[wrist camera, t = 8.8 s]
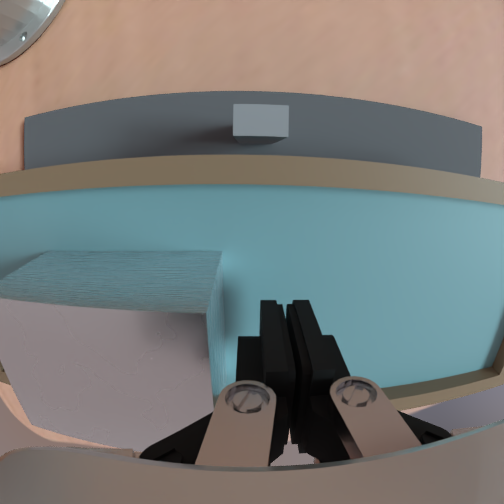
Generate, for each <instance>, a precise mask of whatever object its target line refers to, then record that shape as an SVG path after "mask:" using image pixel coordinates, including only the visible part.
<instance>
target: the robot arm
mask: <svg viewBox="0 0 504 504" xmlns="http://www.w3.org/2000/svg"><path fill="white" fill-rule="evenodd" d="M64 2H65V0H0V66H1V65H3V64H5V63H8V62H10V61H11V60H13V59H14V58H16V57H17V56H19V55H20V54H21V53H23V52H24V51H25V50H26V49H27V48H29V47H30V46H31V45H32V44H33V43H34V42H35V41H36V40H37V39H38V38H39V37H40V35H41V34H42V33H43V32H44V31H45V29H46V28H47V27H48V26H49V25H50V23H51V22H52V20H53V19H54V18H55V16H56V15H57V13H58V12H59V10H60V8H61V7H62V5H63V3H64ZM289 428H290V435H291V442H292V444H298V449H299V453H308V454H309V455H311V456H313V457H314V464H308V465H293V466H292V465H291V466H270V464H271V463H272V462H273V461H274V460H275V459H277V458H278V457H279V456H280V455H281V454H283V449H284V445H286V444H287V441H288V435H289ZM0 504H504V419H503V420H500V421H497V422H494V423H492V424H489V425H486V426H481V427H473V428H463V429H452V431H451V432H450V433H449V432H448V431H446V430H444V429H443V428H441V427H438V426H435V425H433V424H430V423H428V422H425V421H422V420H420V419H417V418H415V417H412V416H410V415H407V414H405V413H402V412H400V411H398V410H396V409H395V407H394V406H393V404H392V403H391V402H390V400H389V399H388V398H387V396H386V395H385V394H384V392H383V391H382V389H381V388H380V387H379V386H378V385H377V384H376V383H375V382H373V381H371V380H370V379H367V378H364V377H358V376H351V375H350V373H349V371H348V368H347V366H346V363H345V361H344V359H343V356H342V354H341V352H340V349H339V347H338V345H337V342H336V340H335V338H334V336H333V335H322V332H321V330H320V327H319V324H318V322H317V319H316V317H315V314H314V311H313V309H312V306H311V304H310V301H309V300H293V301H292V304H287V306H286V318H285V314H284V309H283V304H277V301H276V300H260V331H259V336H238V345H237V363H236V381H235V382H234V383H231V384H229V385H227V386H226V387H225V388H224V389H222V391H221V393H220V394H219V397H218V400H217V403H216V405H215V408H214V411H213V412H211V413H210V414H208V415H206V416H204V417H203V418H201V419H199V420H197V421H196V422H194V423H192V424H190V425H188V426H187V427H185V428H183V429H181V430H179V431H177V432H175V433H174V434H172V435H170V436H168V437H166V438H164V439H162V440H160V441H158V442H156V443H154V444H152V445H150V446H149V447H148V448H146V449H145V450H144V451H143V452H134V451H133V449H106V448H81V447H53V446H43V447H25V448H19V449H14V450H11V451H9V452H7V453H5V454H4V455H2V456H1V457H0Z"/></svg>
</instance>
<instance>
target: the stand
mask: <svg viewBox="0 0 504 504" xmlns="http://www.w3.org/2000/svg"><path fill="white" fill-rule="evenodd" d="M481 154H482V127H481V126H478V125H475V124H471V123H468V122H464V121H461V120H457V119H453V118H449V117H445V116H441V115H437V114H433V113H429V112H425V111H420V110H415V109H411V108H406V107H400V106H395V105H390V104H384V103H378V102H372V101H365V100H358V99H351V98H343V97H334V96H325V95H314V94H301V93H286V92H262V91H210V92H187V93H171V94H159V95H148V96H139V97H130V98H122V99H115V100H108V101H102V102H96V103H90V104H84V105H79V106H73V107H68V108H64V109H59V110H54V111H50V112H46V113H41V114H37V115H33V116H29V117H26V118H25V123H24V165H25V170H27V169H34V168H40V167H48V166H55V165H63V164H71V163H80V162H89V161H99V160H110V159H123V158H137V157H154V156H176V155H280V156H302V157H320V158H334V159H347V160H358V161H368V162H378V163H387V164H396V165H404V166H411V167H419V168H426V169H432V170H439V171H445V172H451V173H457V174H463V175H468V176H474V177H479V178H480V172H481Z"/></svg>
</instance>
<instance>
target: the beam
mask: <svg viewBox="0 0 504 504" xmlns="http://www.w3.org/2000/svg"><path fill="white" fill-rule="evenodd" d="M47 251H222V255H223V293H224V322H225V348H226V370H227V378H226V386H227V385H229V384H231V383H234V382H235V381H236V363H237V345H238V336H259V331H260V300H276V301H277V304H283V309H284V314H285V318H286V306H287V304H292V301H293V300H309V301H310V304H311V306H312V309H313V311H314V314H315V317H316V319H317V322H318V324H319V327H320V330H321V332H322V335H333V336H334V338H335V340H336V342H337V345H338V347H339V349H340V352H341V354H342V356H343V359H344V361H345V363H346V366H347V368H348V371H349V373H350V375H351V376H358V377H364V378H367V379H370V380H371V381H373V382H375V383H376V384H377V385H378V386H379V387H380V388H381V389H382V391H383V392H384V394H385V395H386V396H387V398H388V399H389V400H390V402H391V403H392V404H393V406H394V407H395V409H396V410H398V411H401V410H406V409H411V408H416V407H421V406H426V405H431V404H435V403H439V402H444V401H448V400H451V399H456V398H459V397H463V396H467V395H470V394H473V393H477V392H481V391H484V390H487V389H490V388H494V387H497V386H500V385H503V384H504V183H503V182H499V181H494V180H489V179H484V178H479V177H474V176H468V175H463V174H457V173H451V172H445V171H439V170H432V169H426V168H419V167H411V166H404V165H396V164H387V163H378V162H368V161H358V160H347V159H334V158H320V157H302V156H280V155H176V156H154V157H137V158H123V159H110V160H99V161H89V162H80V163H71V164H63V165H55V166H48V167H40V168H34V169H27V170H21V171H15V172H9V173H4V174H0V280H1V279H3V278H5V277H6V276H8V275H9V274H11V273H12V272H14V271H16V270H17V269H19V268H21V267H22V266H24V265H25V264H27V263H29V262H30V261H32V260H34V259H35V258H37V257H39V256H40V255H42V254H44V253H46V252H47ZM0 382H3V383H6V384H9V385H11V384H10V382H9V379H8V377H7V375H6V373H5V370H4V368H3V366H2V363H1V361H0Z"/></svg>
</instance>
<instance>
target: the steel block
mask: <svg viewBox="0 0 504 504" xmlns="http://www.w3.org/2000/svg"><path fill="white" fill-rule="evenodd" d="M0 361H1V363H2V366H3V368H4V370H5V373H6V375H7V377H8V379H9V382H10V384H11V386H12V388H13V390H14V392H15V394H16V396H17V398H18V400H19V402H20V404H21V406H22V408H23V410H24V412H25V413H26V415H27V417H28V419H29V421H30V423H31V424H32V425H34V426H37V427H40V428H43V429H46V430H50V431H53V432H56V433H60V434H63V435H67V436H70V437H74V438H78V439H82V440H86V441H90V442H94V443H98V444H103V445H108V446H112V447H117V448H123V449H133V450H134V451H140V452H143V451H144V450H145V449H146V448H148V447H149V446H150V445H152V444H154V443H156V442H158V441H160V440H162V439H164V438H166V437H168V436H170V435H172V434H174V433H175V432H177V431H179V430H181V429H183V428H185V427H187V426H188V425H190V424H192V423H194V422H196V421H197V420H199V419H201V418H203V417H204V416H206V415H208V414H210V413H211V412H213V411H214V408H215V405H216V403H217V400H218V397H219V394H220V393H221V391H222V389H224V388H225V387H226V378H227V370H226V348H225V322H224V293H223V255H222V251H47V252H46V253H44V254H42V255H40V256H39V257H37V258H35V259H34V260H32V261H30V262H29V263H27V264H25V265H24V266H22V267H21V268H19V269H17V270H16V271H14V272H12V273H11V274H9V275H8V276H6V277H5V278H3V279H1V280H0Z"/></svg>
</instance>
